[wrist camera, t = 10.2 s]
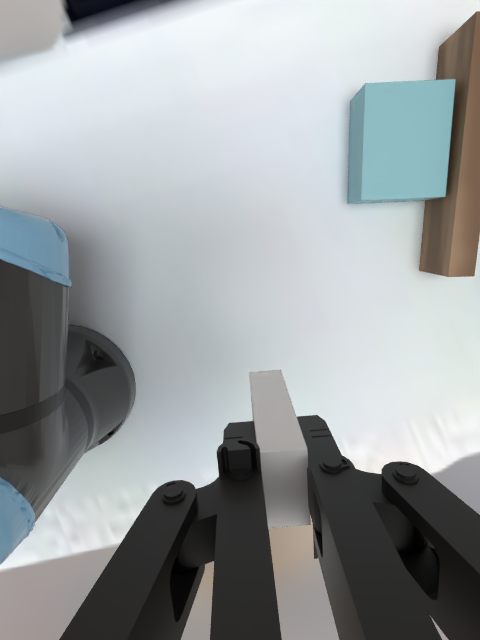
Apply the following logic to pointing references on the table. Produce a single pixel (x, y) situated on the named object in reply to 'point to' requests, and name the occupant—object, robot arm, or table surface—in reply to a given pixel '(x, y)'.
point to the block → (400, 141)
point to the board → (458, 163)
